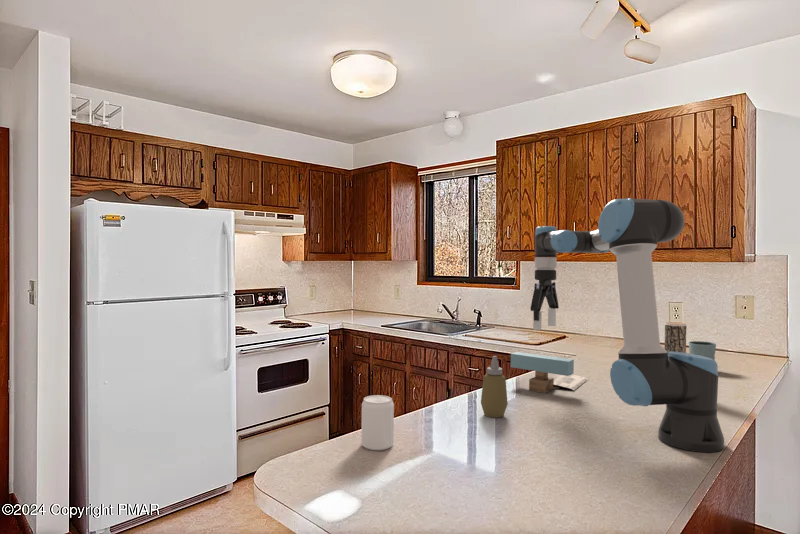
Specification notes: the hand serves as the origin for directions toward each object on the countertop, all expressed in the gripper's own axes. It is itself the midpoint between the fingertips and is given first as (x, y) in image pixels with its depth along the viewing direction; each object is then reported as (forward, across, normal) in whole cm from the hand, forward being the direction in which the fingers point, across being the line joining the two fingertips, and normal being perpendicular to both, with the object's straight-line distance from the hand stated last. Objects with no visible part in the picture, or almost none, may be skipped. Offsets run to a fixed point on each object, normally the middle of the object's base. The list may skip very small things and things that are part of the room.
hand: (544, 327), depth 189 cm
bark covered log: (+23, -26, +38) cm, 52 cm away
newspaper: (+23, -15, +2) cm, 28 cm away
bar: (+16, 0, -1) cm, 16 cm away
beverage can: (+23, +81, -11) cm, 85 cm away
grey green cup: (+23, -76, +40) cm, 89 cm away
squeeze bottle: (+23, +39, 0) cm, 45 cm away
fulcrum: (+23, 0, -1) cm, 23 cm away
